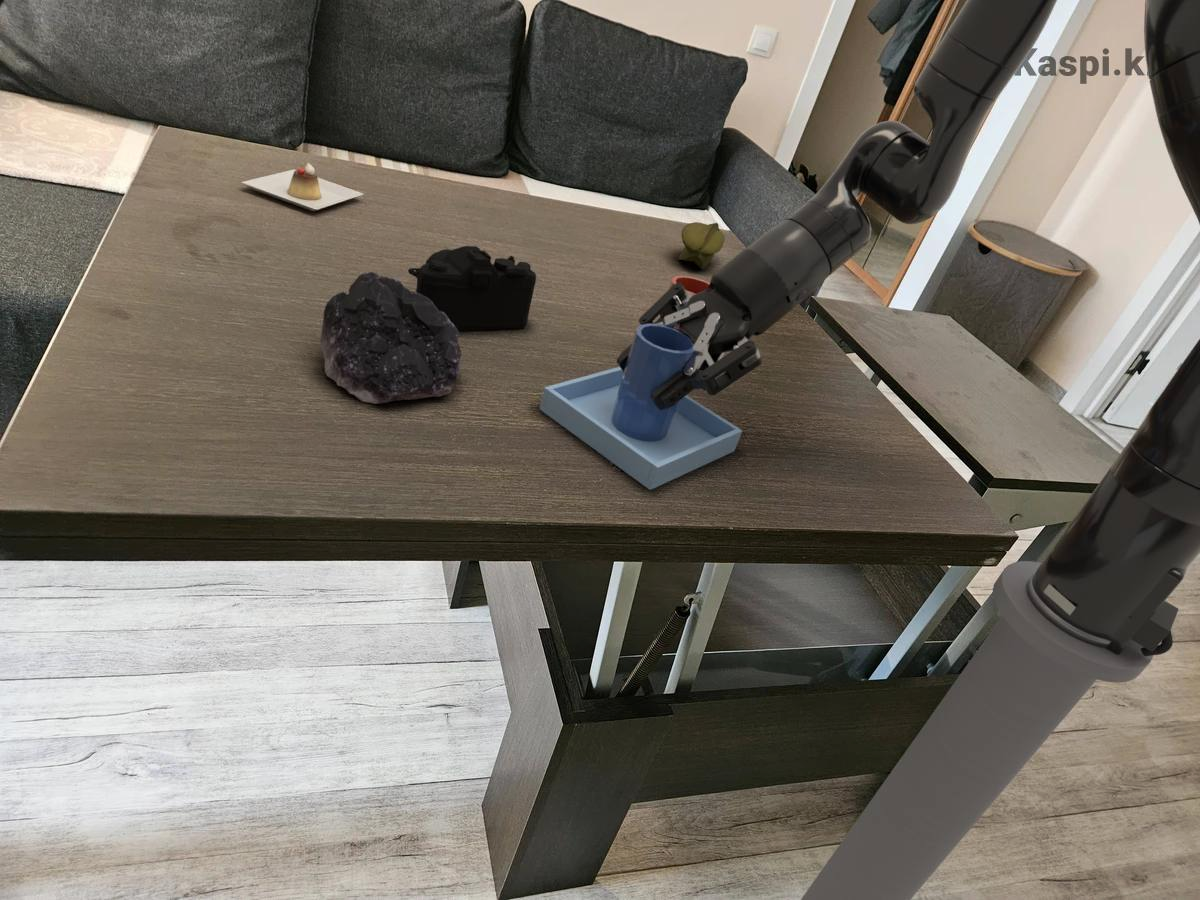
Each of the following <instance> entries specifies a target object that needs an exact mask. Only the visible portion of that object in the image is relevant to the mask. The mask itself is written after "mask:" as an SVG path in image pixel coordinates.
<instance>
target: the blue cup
mask: <svg viewBox="0 0 1200 900" xmlns="http://www.w3.org/2000/svg"><path fill="white" fill-rule="evenodd" d="M631 344H632V346H631V349H630V353H629V356H628V359H627V363H626V366H625V370H624V373H623V377H622V380H621V384H620V387H619V391H618V394H617V397H616V401H615V404H614V408H613V411H612V412H613V413H612V417H611V420H612V423H613V425H614V426H615V427H616V428H617V429H618V430H619V431H620V432H622V433H623V434H625V435H627V436H629V437H632V438H634V439H638V440H642V441H659V440H662V439H664V438H665V437H666V436H667V434H668V431H669V429H670V426H671V424H672V421H673V418H674V415H675V412H676V409H677V406H678V403H679V402H677V403H676V404H675V405H674V406H672V407H670V408H668V409H667V408H666V409H664V410H659V409H658V407H657V406H656V405H655V404H654V402H653V401H652V399H651V397H650V396H651V394H652V392H653V391H655V390H656V389H657V388H658V387H660V386H661V385H662V384H663V383H665V382H666V381H667V380H668V379H669V378H671V377H672V376H673V375H674V374H676V373H677V372H678V371H680V372H681V373H684V368H685V366H686V365H687V363H688V361H689V359H690V358H691V357H692V355H693V353H694V351H693V350H692V348H693V346H694V343H693V342H692V340H691V339H690V337H688V336H686V335H684V334H683V333H682V332H681V331H679V330H678V329H675V328H673V327H667V326H665V325H661V324H643V325H641V324H640V325H638V326H637V328H636V330H635V333H634V336H633V339H632V342H631Z"/></svg>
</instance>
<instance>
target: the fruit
mask: <svg viewBox="0 0 1200 900" xmlns="http://www.w3.org/2000/svg"><path fill="white" fill-rule="evenodd" d="M681 241H682V243H683V245H684V247H683V248H682V250H681V252H680V254H679V257H678V260H679V261H680V260H681V261H686V262H693V263H694V264H695V265H697V267H698V268H700V269H701V270H704V269H705V268H706V267H707V266H709V264H710V263H711V261H712V259H713V257H714V256H715V254H717V253H719V252H720V251H721V250H722V249H723V246H724V243H725V234H724V233H723V232H722V231H721V229H720V227H719V223H718V222H713V223H708V224H707V223H703V222H698V221H695V222H690V223H687V224H685V225H684V227H683V228H682V229H681Z"/></svg>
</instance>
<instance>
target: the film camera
mask: <svg viewBox="0 0 1200 900" xmlns="http://www.w3.org/2000/svg"><path fill="white" fill-rule="evenodd" d="M491 260H492V256H491V255H490V254H489V253H488V252H487V251H486V250H481V248H479V247H478V246H477V245H464V246H460V247H457V248H454V249H448V248H447V249H441V250H439V251H436V252H433V253H431V255H430V256H429V257H428V258H427V259H426V260H425V263H424V264H422V265H421V266H420V267H417V268H416V267H411V268H408V270H407V272H408V274H409V275H411V276H412V277H415V278H416V290H415V292H417V293H419V294H422V295H424V296H425V297H428V298H429V299H430V300H431V301H432V302H433V303H434V305H435V306H436V307H437V309H438V310H439V311H442V312H444V313H445V314H446V315H447V317H448V318H449V320H450V322H452V323H453V324H454V325H455V326H456V328H457V330H458V332H467V331H468V332H469V331H472V332H473V331H501V330H502V331H503V330H516V329H517V330H518V329H524V328H525V327H526V326H527V324H528V321H529V315H530V308H531V304H532V300H533V296H534V290H535V286H536V284H537V283H536V282H537V274H536V272H535V271H533V270H532V268H531V264H530V263H529V262H526V261H519V262H518V263H517V264H515V263H516V259H515V256H513V255H509V257H507V258H503V257H497V258H495V259H494V262H493V263H492V261H491Z"/></svg>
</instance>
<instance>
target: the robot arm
mask: <svg viewBox="0 0 1200 900" xmlns="http://www.w3.org/2000/svg"><path fill="white" fill-rule="evenodd" d="M1057 2H1058V0H966V1H965V3H964V4H963V6H962V8H961V9H960V10H959V12H958V14H957V15H956V17H955V18H954V19H953V22H952V23H951V24H950V26H949V28H948V29H947V31H946V33H945V35H944V36H943V37H942V39H941V40H940V42H939V44H938V45H937V47H936V48H935V50H934V52H933V53H932V55H931V56H930V58H929V59H928V61H927V62H926V64H925V66H924V68H922V71H921V72H920V74H919V76H918V77H917V79H916V80H915V83H914V87H913V95H914V97H915V99H916V101H917V103H918V104H919V105H920V107H921V108H922V109H923V110H924V112H925V113H926V114H927V116H928V118H929V119H930V122H931V125H932V128H931V136H930V140H929V141H928V140H926V139H925V138H923V137H922V136H921V135H920V134H918V133H917V132H915V131H914V130H913V129H911V128H910V127H909V126H907V125H906V124H904V123H903V122H900V121H899V120H898V121H897V120H885V121H881V122H878V123H876V124H873V125H872V126H870V127H868V128H867V129H865V130H864V131H862V133H861V134H860V135H859V136H858V137H857V139H856V140H855V141H854V142H853V144H852V145H851V147H850V148H849V150H848V151H847V152H846V154H845V156H844V157H843V158H842V160H841V162H840V163H839V164H838V166H837V167H836V168H835V170H834V171H833V172H832V173H831V175H830V176H829V177H828V179H827V180H826V181H825V182H824V183H823V185H822V186H821V187H820V188H819V190H818V191H817V192H816V193H815V194H814V195H813V197H811V198H810V199H809V200H807V201H806V202H805V203H804V204H802V205H801V206H799V208H798V209H796V210H795V211H793V213H792V214H790V215H789V216H787V217H786V218H785V219H784V220H782V221H781V222H780V223H778V224H777V225H775V226H773V227H771V228H770V229H768V230H766V231H765V232H764V233H763V234H762V235H760V236H759V237H758V238H757V239H755V240H754V241H753V242H752V243H750V244H749V245H748V246H746V247H745V248H744V249H743V250H742V251H740V252H739V253H738V254H736V255H735V257H733V258H732V259H730V261H728V262H727V263H726V264H725V265H724V266H722V267H721V268H720V269H718V270H717V271H716V272H715V273H714V274H713V275H712V276H711V277H710V282H709V283H710V285H709V287H708V288H707V289H706V290H704V291H702V292H700V293H697V294H695V295H692V294H691V293H689V292H687V291H686V290H685V289H684V287H683V285H682V283H676V284H674V285H673V286H672V287H671V288H670V289H669V288H668V290H667V291H666V292H665V293H664V294H663V295H662V296H661V297H659V299H658V300H657V301H655V302H654V304H652V305H651V307H649V308H647V310H646V311H645V312H644V313H643V314H642V315H641V316H640V317H639V318H638V322H639V324H640V325H643V324H661V325H665V326H667V327H673V328H675V329H677V328H676V325H678V324H679V331H681V332H682V333H683V334H684V335H686V336H688V337H690V339H691V340H692V342H693V343H694V346H693V348H692V350H693V351H694V353H693V355H692V357H691V358H690V359H689V361H688V363H687V365H686V366H685V368H684V373H681V372H680V371H678V372H677V373H676V374H674V375H673V376H672V377H671V378H669V379H668V380H667V381H666V382H665V383H663V384H662V385H661V386H660V387H658V388H657V389H656V390H655V391H653V392H652V394H651V396H650V397H651V399H652V401H653V402H654V404H655V405H656V406H657V407H658V409H659V410H664V409H666V408H667V409H668V408H670V407H672V406H674V405H675V404H676V403H677V402H679V401H680V399H682V398H683V397H685V396H686V395H687V396H688V395H689V394H690V393H691V392H692V391H693V390H695V391H696V390H703V391H705V392H707V394H708V395H710V396H715V395H717V394H719V393H720V392H722V391H724V390H725V389H726V388H728V387H729V386H731V385H732V384H734V383H735V382H736V381H738V380H740V379H742V377H744V376H746V375H748V373H750V372H752V371H753V370H755V369H756V368H758V367H759V366H761V364H762V363H763V358H762V355H761V352H760V351H759V348H758V346H757V345H756V342H755V341H753V340H751V338H752V336H753V337H757V336H761V335H763V334H764V333H765V332H766V331H768V329H770V328H771V327H772V326H774V325H775V324H777V322H778V321H780V320H781V319H782V318H783V317H785V316H787V314H788V313H790V312H791V311H792V310H793V309H795V308H796V307H797V306H798V305H800V304H801V303H802V302H803V301H804V300H805V299H807V298H808V297H809V296H810V295H811V294H813V293H814V292H815V291H816V290H817V288H819V287H820V285H822V283H823V282H824V281H825V280H827V278H829V277H830V276H831V275H832V274H833V273H835V272H836V271H837V270H839V268H841V267H843V265H844V264H846V263H847V262H848V261H850V259H852V258H853V257H854V256H855V255H857V254H858V253H859V252H861V251H862V249H864V247H865V246H867V244H868V243H869V241H870V240H871V237H872V226H871V225H872V224H871V221H870V219H869V216H868V215H867V214H866V212H865V210H864V208H863V206H862V205H861V204H860V202H859V201H858V199H857V198H858V197H860V195H862V194H864V195H865V196H866V197H868V198H869V199H870V200H872V201H873V202H874V203H875V204H877V205H878V206H879V207H880V208H882V209H883V210H884V211H885V212H886V213H888V214H889V215H890V216H891V217H893V218H894V219H895V220H897V221H898V222H900V223H903V224H905V225H916V224H920V223H923V222H925V221H927V220H929V219H931V218H932V217H933V216H935V215H936V214H937V213H938V212H939V211H940V210H941V209H943V208H944V206H945V205H946V204H947V202H948V201H949V199H950V198H951V196H952V194H953V192H954V190H955V188H956V186H957V184H958V182H959V179H960V176H961V174H962V171H963V169H964V166H965V163H966V160H967V158H968V156H969V154H970V150H971V148H972V145H973V144H974V141H975V140H976V137H977V135H978V133H979V131H980V128H981V127H982V124H983V122H984V120H985V117H986V116H987V114H988V113H989V110H990V109H991V108H992V107H993V105H994V104H995V102H996V101H997V99H998V98H999V97H1000V96H1001V94H1002V92H1003V91H1004V90H1005V88H1006V87H1007V86H1008V84H1009V83H1010V81H1011V80H1012V79H1013V77H1014V75H1015V74H1016V73H1017V71H1018V70H1019V69H1020V67H1021V66H1022V64H1023V63H1024V61H1025V60H1026V58H1027V57H1028V55H1029V54H1030V52H1031V51H1032V49H1034V46H1035V44H1037V41H1038V40H1039V38H1040V36H1041V34H1042V32H1043V31H1044V30H1045V29H1044V28H1045V27H1046V24H1047V22H1048V20H1049V19H1050V17H1051V14H1052V12H1053V11H1054V8H1055V6H1056V3H1057ZM1143 17H1144V21H1143V22H1144V23H1143V24H1144V25H1143V37H1144V39H1143V40H1144V56H1145V65H1146V71H1147V77H1148V80H1149V81H1148V82H1149V86H1150V90H1151V94H1152V95H1151V96H1152V100H1153V104H1154V110H1155V114H1156V118H1157V122H1158V127H1159V130H1160V133H1161V137H1162V139H1163V143H1164V146H1165V149H1166V151H1167V153H1168V156H1169V159H1170V162H1171V164H1172V167H1173V169H1174V172H1175V174H1176V176H1177V178H1178V181H1179V183H1180V185H1181V188H1182V189H1183V192H1184V194H1185V196H1186V198H1187V200H1188V202H1189V203H1190V206H1191V208H1192V210H1193V213H1194V215H1195V218H1196V219H1197V222H1198V224H1199V225H1200V0H1144V16H1143ZM656 318H657V320H656ZM654 320H656V321H655V322H654ZM631 346H632V343H631V344H630V345H629V346H627V348H625V349H624V350H622V352H621V353H620V354H619V355H618V357H617V359H616V364H617V365H618V367H620V368H621V369H622V371H623V372H624V370H625V366H626V363H627V359H628V356H629V353H630V349H631ZM726 353H727V354H726ZM1199 555H1200V338H1199V339H1198V340H1197V341H1196V343H1195V345H1194V346H1193V347H1192V349H1191V350H1190V352H1189V353H1188V355H1186V358H1185V359H1184V360H1183V362H1182V363H1181V365H1180V366H1179V367H1178V369H1177V371H1176V372H1175V373H1174V374H1173V376H1172V377H1171V379H1170V380H1169V382H1168V384H1167V385H1166V386H1165V388H1164V389H1163V391H1162V392H1161V393H1160V395H1159V396H1158V398H1157V399H1156V400H1155V401H1154V403H1153V404H1152V406H1151V408H1150V409H1149V410H1148V412H1147V414H1146V415H1145V417H1144V419H1143V421H1142V422H1141V424H1140V425H1139V427H1138V428H1137V429H1136V431H1135V432H1134V433H1133V435H1132V436H1131V438H1130V439H1129V441H1128V442H1127V443H1126V445H1125V446H1124V448H1123V449H1122V450H1121V452H1120V453H1119V455H1118V456H1117V458H1116V459H1115V460H1114V462H1113V463H1112V464H1111V466H1110V468H1108V471H1107V472H1106V473H1105V475H1104V476H1103V477H1102V478H1101V480H1100V481H1099V482H1098V484H1097V486H1096V487H1095V489H1094V490H1093V492H1092V493H1091V494H1090V496H1088V498H1087V500H1086V501H1085V502H1084V504H1083V506H1082V507H1080V509H1079V511H1078V512H1077V513H1076V515H1075V516H1074V518H1073V519H1072V521H1071V522H1070V523H1069V525H1068V526H1067V527H1066V529H1065V530H1064V532H1063V533H1062V535H1061V536H1060V537H1059V539H1058V540H1057V542H1055V545H1054V546H1053V547H1052V548H1051V550H1050V551H1049V553H1048V555H1047V556H1046V557H1045V558H1044V560H1043V561H1042V562H1041V563H1042V564H1041V565H1040V566H1039V568H1038V569H1037V571H1036V572H1035V573H1034V574H1033V575H1032V576H1031V578H1030V579H1029V581H1028V582H1027V585H1026V591H1027V594H1028V597H1029V598H1030V600H1031V602H1032V603H1033V605H1034V606H1035V607H1036V608H1037V610H1038V611H1039V612H1040V613H1041V614H1042V615H1043V616H1044V617H1046V618H1047V619H1048V620H1049V621H1050V622H1052V623H1053V624H1054V625H1055V626H1057V627H1058V628H1060V629H1061V630H1063V631H1064V632H1066V633H1068V634H1069V635H1071V636H1073V637H1075V638H1077V639H1079V640H1081V641H1084V642H1086V643H1089V644H1092V645H1095V646H1098V647H1103V648H1106V649H1108V650H1110V651H1111V652H1113V653H1114V654H1116V655H1119V654H1120V653H1121V652H1122V651H1123V650H1124V648H1125V647H1126V646H1127V645H1128V644H1129V642H1130V641H1131V640H1133V641H1135V642H1136V643H1138V644H1140V645H1141V646H1143V648H1141V652H1142V654H1143V655H1144V656H1152V655H1153V656H1160V655H1164V654H1165V653H1167V652H1168V651H1170V650H1171V649H1172V647H1173V644H1174V640H1173V639H1174V638H1173V634H1172V628H1173V626H1174V623H1175V620H1176V617H1177V615H1178V612H1179V610H1180V609H1179V607H1176V606H1175V605H1173V604H1171V603H1170V602H1168V601H1166V600H1167V599H1168V598H1169V596H1170V595H1172V593H1173V592H1174V591H1175V589H1176V588H1177V587H1178V586H1179V584H1181V583H1182V582H1183V580H1184V578H1185V575H1186V573H1187V570H1188V569H1189V567H1190V566H1191V565H1192V564H1193V562H1195V560H1197V558H1198V556H1199Z"/></svg>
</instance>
